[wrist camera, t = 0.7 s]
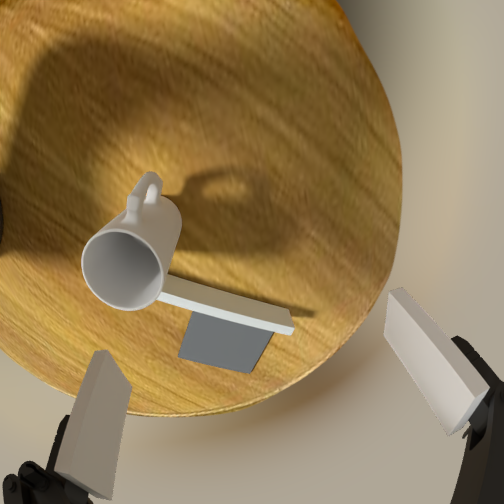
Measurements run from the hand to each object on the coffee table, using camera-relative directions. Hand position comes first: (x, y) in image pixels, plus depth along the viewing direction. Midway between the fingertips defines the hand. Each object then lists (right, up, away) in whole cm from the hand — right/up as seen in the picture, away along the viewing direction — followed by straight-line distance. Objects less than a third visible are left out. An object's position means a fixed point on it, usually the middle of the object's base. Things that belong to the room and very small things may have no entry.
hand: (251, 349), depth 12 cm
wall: (-6, 0, +22) cm, 23 cm away
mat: (-3, -7, +26) cm, 27 cm away
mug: (-10, +9, +18) cm, 22 cm away
